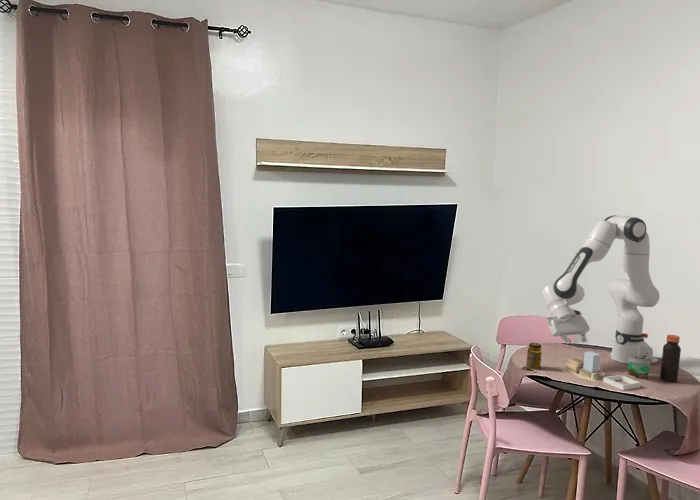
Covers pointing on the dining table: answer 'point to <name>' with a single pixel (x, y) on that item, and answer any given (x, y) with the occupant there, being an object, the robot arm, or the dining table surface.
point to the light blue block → (591, 362)
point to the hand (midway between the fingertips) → (577, 342)
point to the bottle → (670, 359)
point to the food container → (639, 366)
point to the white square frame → (631, 382)
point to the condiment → (533, 358)
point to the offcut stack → (574, 364)
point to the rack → (587, 375)
